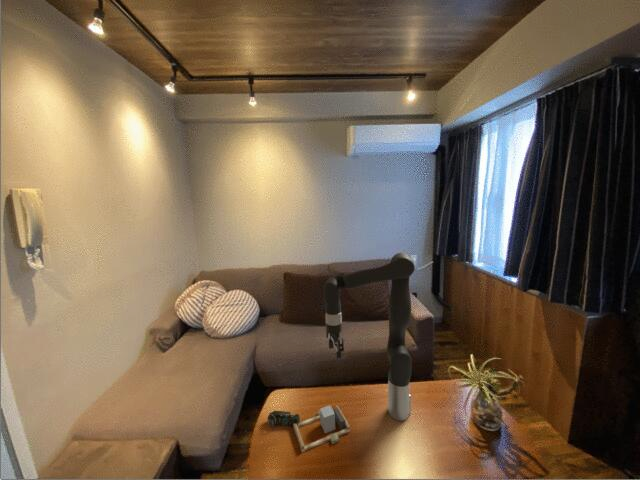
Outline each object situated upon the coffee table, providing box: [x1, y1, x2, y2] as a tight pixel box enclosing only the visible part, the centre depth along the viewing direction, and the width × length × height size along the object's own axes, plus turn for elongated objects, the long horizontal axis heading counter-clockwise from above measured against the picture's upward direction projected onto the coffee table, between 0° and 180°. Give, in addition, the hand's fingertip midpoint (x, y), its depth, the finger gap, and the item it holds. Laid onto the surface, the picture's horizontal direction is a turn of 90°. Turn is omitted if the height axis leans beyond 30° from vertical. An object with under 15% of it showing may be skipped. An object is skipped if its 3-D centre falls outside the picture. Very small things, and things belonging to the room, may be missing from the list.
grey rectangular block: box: [319, 404, 336, 434], centre depth 112 cm, size 5×5×8 cm
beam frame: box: [292, 405, 351, 453], centre depth 111 cm, size 22×16×4 cm
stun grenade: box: [267, 410, 301, 431], centre depth 114 cm, size 6×6×14 cm
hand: (335, 352), depth 119 cm, fingers open, 8 cm apart
